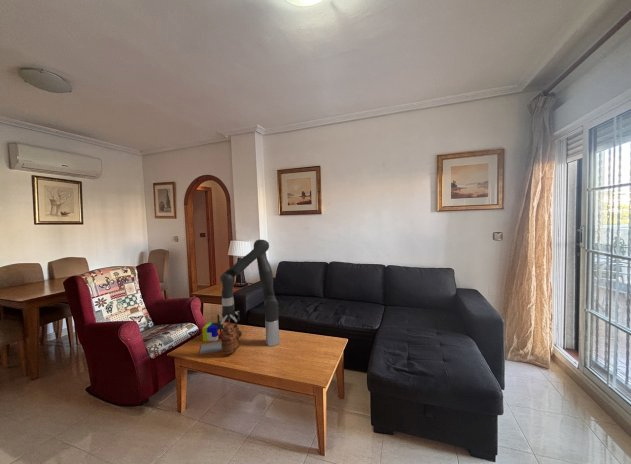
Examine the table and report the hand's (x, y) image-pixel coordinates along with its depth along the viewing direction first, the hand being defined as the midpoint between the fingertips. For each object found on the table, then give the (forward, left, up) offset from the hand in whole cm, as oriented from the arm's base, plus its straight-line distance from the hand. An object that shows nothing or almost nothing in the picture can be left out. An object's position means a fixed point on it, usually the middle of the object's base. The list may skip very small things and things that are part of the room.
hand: (229, 328), depth 167 cm
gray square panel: (+12, -13, -17) cm, 25 cm away
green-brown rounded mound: (-1, -28, -18) cm, 33 cm away
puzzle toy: (+12, -30, -18) cm, 37 cm away
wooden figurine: (-1, 0, -15) cm, 15 cm away
